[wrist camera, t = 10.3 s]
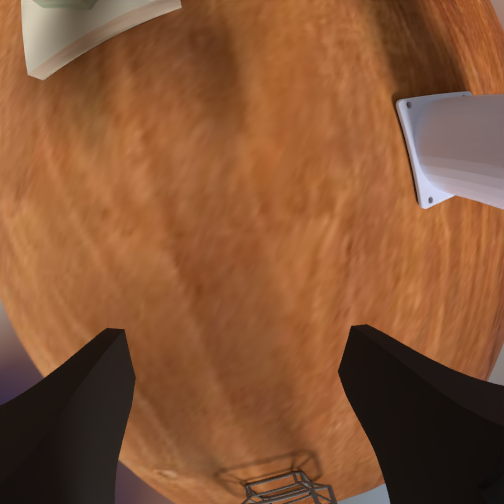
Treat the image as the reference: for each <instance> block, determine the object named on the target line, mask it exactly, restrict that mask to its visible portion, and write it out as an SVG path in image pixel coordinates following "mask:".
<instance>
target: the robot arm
mask: <svg viewBox="0 0 504 504" xmlns="http://www.w3.org/2000/svg"><path fill="white" fill-rule="evenodd" d="M407 103H408V105H409V108H408V107H407ZM396 109H397V112H398V115H399V118H400V122H401V125H402V129H403V132H404V136H405V140H406V144H407V148H408V152H409V156H410V161H411V165H412V170H413V175H414V180H415V185H416V191H417V196H418V203H419V206H420V207H421V208H424V209H427V208H429V207H431V206H433V205H435V204H438V203H440V202H442V201H444V200H446V199H448V198H451V197H453V196H455V195H457V196H461V197H464V198H468V199H471V200H475V201H478V202H482V203H485V204H488V205H491V206H495V207H498V208H501V209H504V94H487V95H472V94H471V92H469V91H465V92H453V93H443V94H435V95H427V96H419V97H413V98H406V99H400V100H398V101H397V102H396ZM429 198H430V200H429V202H428V199H429ZM338 373H339V377H340V380H341V383H342V386H343V388H344V391H345V394H346V396H347V398H348V400H349V402H350V404H351V406H352V408H353V410H354V412H355V414H356V416H357V418H358V420H359V421H360V423H361V425H362V427H363V429H364V431H365V433H366V435H367V437H368V439H369V440H370V442H371V445H372V447H373V449H374V451H375V454H376V456H377V459H378V462H379V465H380V468H381V471H382V474H383V477H384V480H385V484H386V487H387V491H388V495H389V499H390V504H504V386H502V385H498V384H493V383H490V382H486V381H483V380H479V379H476V378H473V377H470V376H468V375H465V374H463V373H460V372H457V371H455V370H453V369H450V368H448V367H446V366H444V365H442V364H440V363H438V362H436V361H434V360H432V359H430V358H428V357H426V356H424V355H422V354H420V353H418V352H417V351H415V350H413V349H411V348H410V347H408V346H406V345H404V344H402V343H401V342H399V341H397V340H395V339H394V338H392V337H390V336H388V335H387V334H385V333H383V332H381V331H379V330H377V329H376V328H374V327H371V326H369V325H367V324H365V325H356V326H351V329H350V332H349V336H348V340H347V343H346V347H345V350H344V353H343V357H342V360H341V363H340V366H339V370H338ZM135 378H136V377H135V374H134V370H133V366H132V362H131V357H130V353H129V349H128V344H127V339H126V334H125V329H113V328H106V329H105V330H103V331H102V332H101V333H99V334H98V335H97V336H96V337H95V338H93V339H92V340H91V341H90V342H89V343H87V344H86V345H85V346H84V347H83V348H82V349H80V350H79V351H78V352H77V353H75V354H74V355H73V356H72V357H71V358H69V359H68V360H67V361H66V362H65V363H63V364H62V365H61V366H60V367H58V368H57V369H56V370H54V371H53V372H52V373H50V374H49V375H48V376H46V377H45V378H44V379H43V380H41V381H40V382H39V383H37V384H36V385H34V386H33V387H31V388H30V389H28V390H27V391H25V392H24V393H22V394H20V395H19V396H17V397H16V398H14V399H12V400H10V401H9V402H7V403H5V404H3V405H1V406H0V504H114V500H115V495H114V494H115V480H116V469H117V462H118V458H119V453H120V449H121V445H122V441H123V437H124V433H125V429H126V425H127V421H128V417H129V413H130V410H131V406H132V400H133V393H134V385H135Z"/></svg>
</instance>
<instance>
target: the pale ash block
mask: <svg viewBox="0 0 504 504" xmlns="http://www.w3.org/2000/svg"><path fill="white" fill-rule="evenodd" d="M21 8H22V30H23V42H24V51H25V59H26V66H27V72H28V75H30V76H32V77H35V78H38V79H41V80H43V81H44V80H45V79H46V78H48V77H49V76H50V75H52V74H53V73H55V72H56V71H57V70H59V69H60V68H62V67H63V66H65V65H66V64H68V63H69V62H71V61H72V60H74V59H75V58H77V57H78V56H80V55H82V54H83V53H85V52H87V51H88V50H90V49H92V48H93V47H95V46H97V45H99V44H101V43H102V42H104V41H106V40H108V39H110V38H112V37H114V36H116V35H118V34H120V33H122V32H124V31H126V30H128V29H130V28H132V27H134V26H137V25H139V24H141V23H143V22H146V21H148V20H150V19H153V18H155V17H158V16H160V15H163V14H166V13H168V12H171V11H174V10H177V9H180V8H182V6H181V1H180V0H97V2H96V3H95V4H94V6H93V7H92V9H91V10H85V9H67V8H42V7H40V6H39V5H38V4H36V3H35V2H34V1H32V0H21Z"/></svg>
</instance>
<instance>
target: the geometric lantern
mask: <svg viewBox="0 0 504 504" xmlns="http://www.w3.org/2000/svg"><path fill="white" fill-rule="evenodd" d="M295 474H300V476H301V479H302V481H299V482H298V480H297V477H296V475H295ZM291 475H293V477H294V480H295V483H294V484H291V485H288V486H284V487H281V488H277V489H274V490H270V491H266V492H263V493H258V494H256V493H254V492H253V491H251V487H250V486H254V485H258V484H262V483H266V482H270V481H274V480H277V479H281V478H284V477H288V476H291ZM304 478H305V479H304ZM305 480H306V481H305ZM302 483H303V484H302ZM298 484H299V485H301V486H302V487H304V488H300V489H297V490H294V491H290V492H287V493H283V494H280V495H276V496H272V497H260V495H264V494H268V493H272V492H275V491H279V490H282V489H286V488H289V487H292V486H295V485H298ZM308 484H309V485H308ZM313 485H315V486H319V487H314V486H313ZM310 486H311V487H310ZM326 488H328V491H329V495H330V498H331V500H330V499H328V498H325V497H323V496H321V495H319V494H317V493H316V491H317V490H322V489H326ZM304 489H306V490H304ZM245 490H246V496H247V499H246V500H245V501H244V502H243V503H242V504H246V503H247V502H248V501H250V502H252V503H249V504H267V503H269V504H272V502H276V501H280V500H284V499H288V498H292V497H295V496H299V495H302V494H305V493H309V495H307V496H304V497H302V498H299V499H296V500H293V501H290V502H287V503H283V504H290V503H293V502H296V501H299V500H302V499H305V498H307V497H310V496H311V497H312V498H313V499H314V502H315V504H321V503H320V502H319V499H318V497H317V496H319V497H321V498H323V499H325V500H327V501H329V502H331V503H329V504H337V501H336V498H335V495H334V492H333V489H332V486H331V485H323V484H318V483H313V482H310V480H309V479H308V478H307V477H306V476H305V475H304V473H303V472H302V471H300V472H293V473H290V474H286V475H283V476H280V477H276V478H272V479H269V480H265V481H261V482H257V483H252V484H247V485H246V487H245ZM301 490H303V491H301ZM297 491H299V492H297ZM294 492H296V493H294ZM291 493H292V494H291ZM249 494H250V496H249ZM287 494H289V495H287ZM283 495H285V496H283ZM280 496H281V497H280ZM251 497H258V498H260V499H262V501H259V502H255V501H253V500H251V499H250V498H251ZM276 497H277V498H276ZM272 498H273V499H272ZM264 499H268V500H264Z"/></svg>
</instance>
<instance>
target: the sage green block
mask: <svg viewBox="0 0 504 504" xmlns="http://www.w3.org/2000/svg"><path fill="white" fill-rule="evenodd" d="M32 1H34V2H35V3H36V4H38V5H39V6H40V7H42V8H67V9H85V10H91V9H92V7H93V6H94V4H95V3H96V2H97V0H32Z"/></svg>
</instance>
